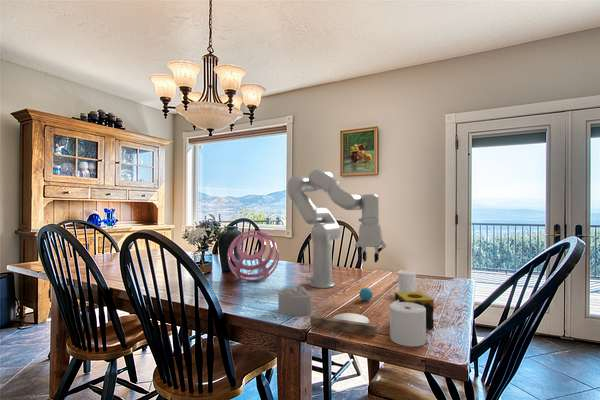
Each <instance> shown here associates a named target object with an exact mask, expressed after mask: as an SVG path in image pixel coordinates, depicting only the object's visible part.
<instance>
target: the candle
mask: <svg viewBox="0 0 600 400" xmlns="http://www.w3.org/2000/svg"><path fill="white" fill-rule="evenodd" d="M396 300H399V302H410V303H415V304H419V305H422V306H424V307H425V308H426V330H431V329H434V327H435V326H434V325H435V324H434V323H435V321H434V308H435V305H434V303H435V301H434V300H435V299H434V298H432V297H430V296H429V295H427V294H425V293H423V292H422V291H415V292H399V291H395V292H394V301H396Z"/></svg>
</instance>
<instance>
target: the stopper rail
mask: <svg viewBox="0 0 600 400" xmlns="http://www.w3.org/2000/svg"><path fill="white" fill-rule="evenodd" d="M310 327H315V328H319V329H325V330H326V329H327V330H332V331H340V332H345V333H351V334H357V333H359V334H358V335H363V334H366V335H365V336H369V335H373V336H372V337H376V336H377V333H378V332H377V327H378V326H377V324H373V323H361V322H354V321H347V320H341V319H334V318H333V317H332V318H331V317H325V316H318V315H312V316H311V317H310ZM375 335H376V336H375Z"/></svg>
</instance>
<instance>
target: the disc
mask: <svg viewBox="0 0 600 400" xmlns="http://www.w3.org/2000/svg"><path fill="white" fill-rule="evenodd" d="M332 318H334V319H341V320H347V321H354V322H361V323H368V324H370V320H369V318H368V317H367V316H365V315H363V314H358V313H353V312H352V313H351V312H346V313H345V312H344V313H338V314H336V315H334V316H333V317H332Z"/></svg>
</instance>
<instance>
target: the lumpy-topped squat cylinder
mask: <svg viewBox="0 0 600 400" xmlns="http://www.w3.org/2000/svg"><path fill="white" fill-rule="evenodd" d="M277 295H278V296H277V297H278V299H277V301H278V303H277V306H278V307H277V310H278V312H279V313H281V314H284V315H287V316H291V317H304V316H307V317H308V316H310V315H311V314H312V297H311V296H312V294H311V292H310V291H308V290H306V288H305V287H304V286H299V287H298V288H296V287H294V286H290V287H287V288H286V287H285V288H283V289H282V290H280V291H278V292H277Z"/></svg>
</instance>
